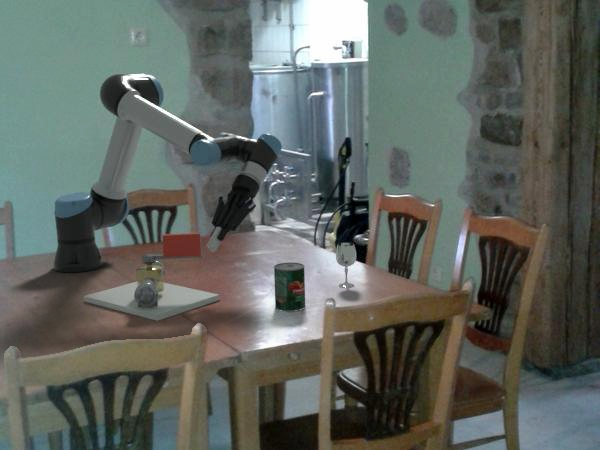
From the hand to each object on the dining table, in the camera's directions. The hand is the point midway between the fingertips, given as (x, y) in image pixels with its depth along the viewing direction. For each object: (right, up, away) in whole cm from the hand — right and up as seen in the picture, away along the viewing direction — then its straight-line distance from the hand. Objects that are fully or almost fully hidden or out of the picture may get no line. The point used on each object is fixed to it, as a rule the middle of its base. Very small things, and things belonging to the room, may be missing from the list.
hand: (210, 248), depth 216 cm
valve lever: (-10, -3, -4) cm, 11 cm away
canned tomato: (+22, -15, -11) cm, 29 cm away
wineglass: (+38, -11, +8) cm, 40 cm away
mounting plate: (-16, -14, -2) cm, 21 cm away
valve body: (-16, -13, -3) cm, 20 cm away
